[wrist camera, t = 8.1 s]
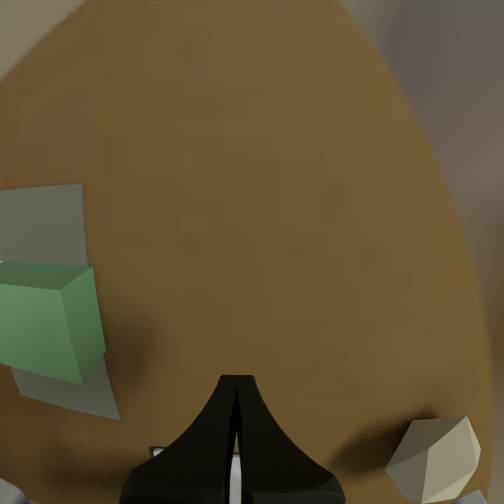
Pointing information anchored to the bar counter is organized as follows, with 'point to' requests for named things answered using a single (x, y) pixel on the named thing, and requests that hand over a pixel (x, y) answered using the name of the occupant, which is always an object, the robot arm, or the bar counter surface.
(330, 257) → the bar counter surface
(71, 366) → the block
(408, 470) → the die
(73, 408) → the mat
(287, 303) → the bar counter surface
